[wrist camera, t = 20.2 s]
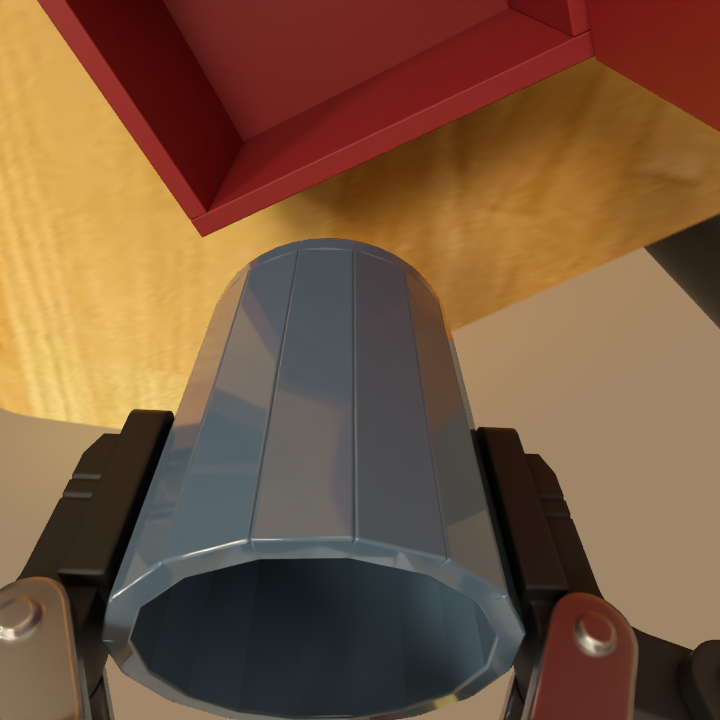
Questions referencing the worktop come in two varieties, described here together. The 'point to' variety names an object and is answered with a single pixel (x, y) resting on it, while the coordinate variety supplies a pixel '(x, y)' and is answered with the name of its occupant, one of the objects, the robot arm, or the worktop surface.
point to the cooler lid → (664, 49)
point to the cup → (319, 507)
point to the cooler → (303, 81)
